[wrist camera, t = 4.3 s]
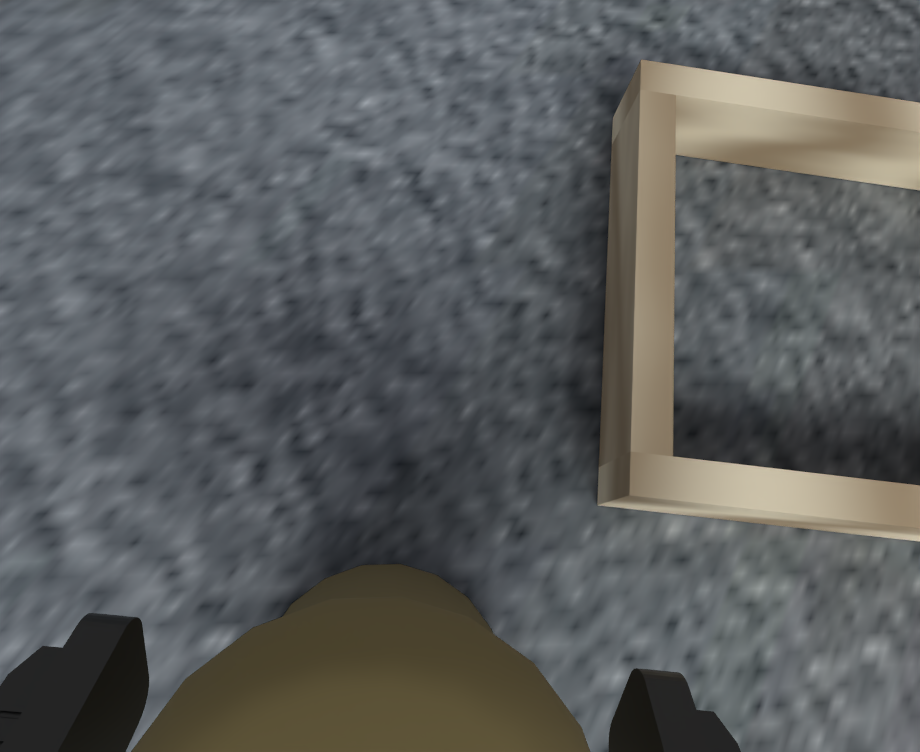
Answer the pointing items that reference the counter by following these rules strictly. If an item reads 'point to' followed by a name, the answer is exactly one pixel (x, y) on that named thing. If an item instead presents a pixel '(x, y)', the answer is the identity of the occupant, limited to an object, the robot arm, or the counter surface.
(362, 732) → the cork
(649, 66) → the wooden square frame
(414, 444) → the counter surface
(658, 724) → the robot arm
